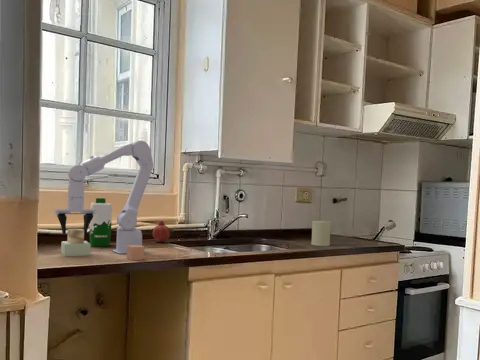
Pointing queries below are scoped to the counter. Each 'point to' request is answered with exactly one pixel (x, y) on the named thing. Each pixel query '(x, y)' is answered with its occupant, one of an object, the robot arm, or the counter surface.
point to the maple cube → (75, 236)
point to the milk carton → (100, 223)
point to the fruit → (161, 232)
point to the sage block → (75, 248)
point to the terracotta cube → (135, 252)
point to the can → (321, 233)
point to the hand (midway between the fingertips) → (74, 233)
